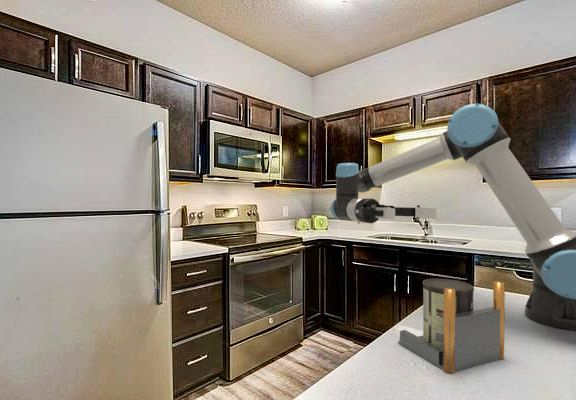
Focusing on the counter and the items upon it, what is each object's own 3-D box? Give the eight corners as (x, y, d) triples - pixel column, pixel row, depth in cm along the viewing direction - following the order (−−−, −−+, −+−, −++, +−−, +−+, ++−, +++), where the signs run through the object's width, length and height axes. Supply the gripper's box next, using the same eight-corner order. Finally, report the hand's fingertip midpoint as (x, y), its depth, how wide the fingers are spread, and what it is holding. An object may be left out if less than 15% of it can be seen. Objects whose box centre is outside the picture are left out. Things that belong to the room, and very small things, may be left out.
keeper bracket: (449, 332, 81) (449, 269, 81) (506, 358, 68) (506, 283, 68) (397, 343, 75) (398, 274, 75) (449, 374, 62) (450, 291, 62)
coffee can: (464, 338, 76) (464, 279, 76) (481, 360, 66) (481, 291, 66) (418, 334, 78) (418, 277, 78) (427, 354, 68) (428, 288, 68)
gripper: (395, 221, 105) (451, 227, 86) (329, 223, 96) (374, 230, 76) (395, 198, 105) (451, 199, 86) (329, 198, 96) (374, 198, 76)
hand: (415, 213), depth 81 cm, fingers open, 13 cm apart
